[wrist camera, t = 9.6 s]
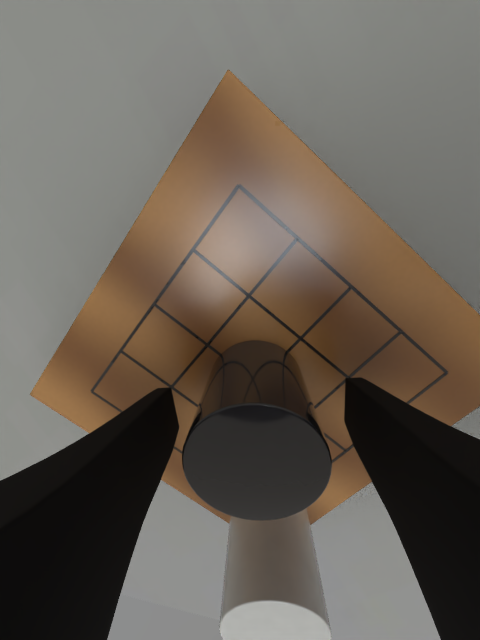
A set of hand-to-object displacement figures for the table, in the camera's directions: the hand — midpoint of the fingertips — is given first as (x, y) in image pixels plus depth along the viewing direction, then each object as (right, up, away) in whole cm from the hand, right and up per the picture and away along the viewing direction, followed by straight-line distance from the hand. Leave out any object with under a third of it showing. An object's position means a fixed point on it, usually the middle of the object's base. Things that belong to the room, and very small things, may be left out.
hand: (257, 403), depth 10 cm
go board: (0, +1, +3) cm, 3 cm away
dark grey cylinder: (0, 0, +1) cm, 2 cm away
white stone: (+1, -8, +4) cm, 9 cm away
